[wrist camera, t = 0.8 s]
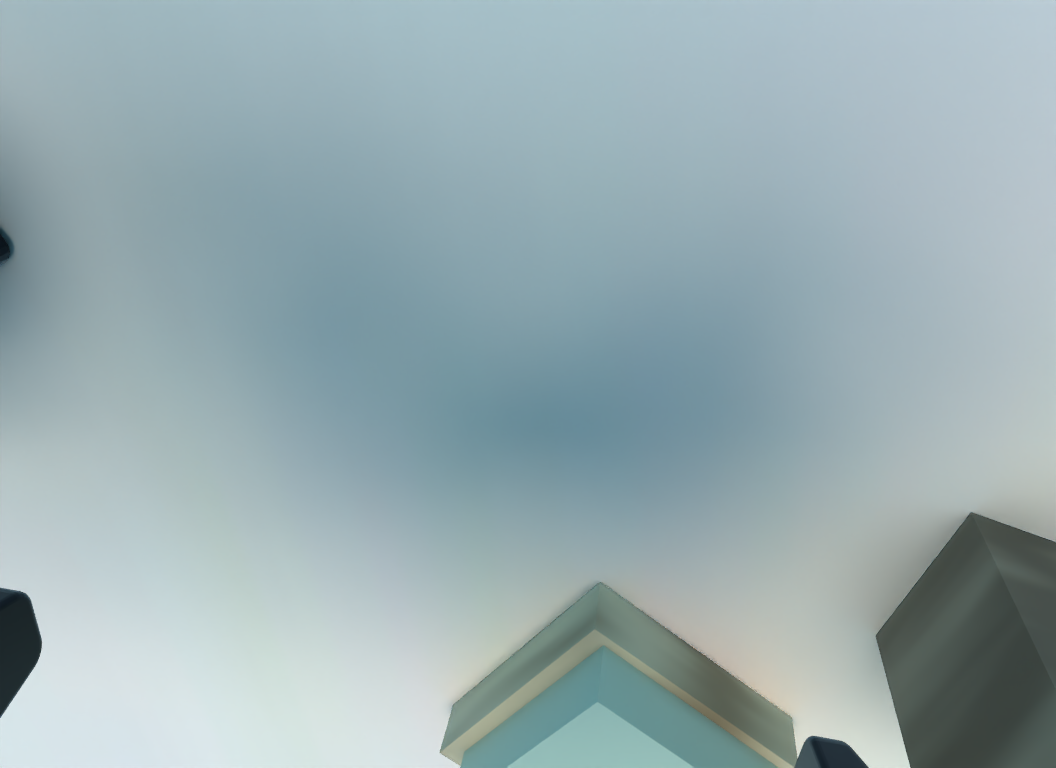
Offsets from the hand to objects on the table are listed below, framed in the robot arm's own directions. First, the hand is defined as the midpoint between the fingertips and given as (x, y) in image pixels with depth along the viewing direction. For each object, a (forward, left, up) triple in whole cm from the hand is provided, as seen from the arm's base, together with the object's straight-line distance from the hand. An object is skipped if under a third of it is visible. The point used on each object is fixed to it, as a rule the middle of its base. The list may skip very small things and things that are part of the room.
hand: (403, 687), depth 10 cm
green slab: (-6, -15, -11) cm, 19 cm away
